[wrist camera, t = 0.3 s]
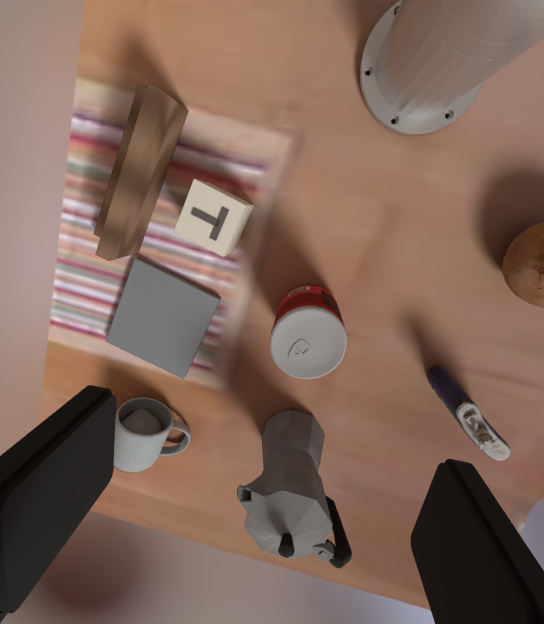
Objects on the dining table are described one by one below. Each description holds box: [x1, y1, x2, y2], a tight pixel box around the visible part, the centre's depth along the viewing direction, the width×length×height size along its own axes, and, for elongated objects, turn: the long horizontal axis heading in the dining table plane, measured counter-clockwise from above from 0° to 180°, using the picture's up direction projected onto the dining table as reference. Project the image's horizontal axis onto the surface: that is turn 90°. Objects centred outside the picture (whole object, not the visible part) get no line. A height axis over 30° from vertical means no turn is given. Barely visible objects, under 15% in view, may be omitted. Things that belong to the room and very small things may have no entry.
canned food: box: [270, 285, 347, 379], centre depth 39 cm, size 8×8×11 cm
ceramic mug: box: [114, 397, 191, 473], centre depth 48 cm, size 11×8×8 cm
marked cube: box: [174, 179, 254, 257], centre depth 39 cm, size 6×6×6 cm
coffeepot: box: [237, 409, 352, 568], centre depth 42 cm, size 15×9×18 cm, turn 53°
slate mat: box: [106, 257, 221, 379], centre depth 46 cm, size 13×12×1 cm
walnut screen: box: [94, 83, 188, 261], centre depth 38 cm, size 18×6×7 cm, turn 154°
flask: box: [427, 365, 511, 461], centre depth 41 cm, size 9×3×11 cm, turn 41°
